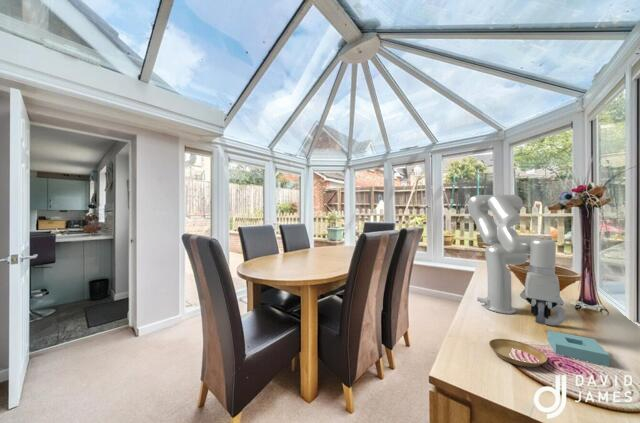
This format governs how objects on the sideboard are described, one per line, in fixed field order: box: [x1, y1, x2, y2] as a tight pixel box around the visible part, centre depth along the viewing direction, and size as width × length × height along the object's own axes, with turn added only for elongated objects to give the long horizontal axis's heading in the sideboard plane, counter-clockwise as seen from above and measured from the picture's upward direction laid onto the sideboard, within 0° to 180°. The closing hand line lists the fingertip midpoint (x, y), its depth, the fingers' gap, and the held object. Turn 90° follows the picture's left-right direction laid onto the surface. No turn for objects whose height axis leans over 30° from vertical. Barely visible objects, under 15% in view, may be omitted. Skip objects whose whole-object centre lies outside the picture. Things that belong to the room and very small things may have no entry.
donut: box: [544, 305, 567, 326], centre depth 104 cm, size 10×4×10 cm, turn 71°
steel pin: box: [534, 300, 546, 326], centre depth 99 cm, size 3×3×10 cm
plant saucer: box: [488, 338, 548, 368], centre depth 80 cm, size 15×15×3 cm
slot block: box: [546, 330, 611, 368], centre depth 83 cm, size 12×12×4 cm
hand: (540, 315), depth 99 cm, fingers closed on steel pin, 3 cm apart
